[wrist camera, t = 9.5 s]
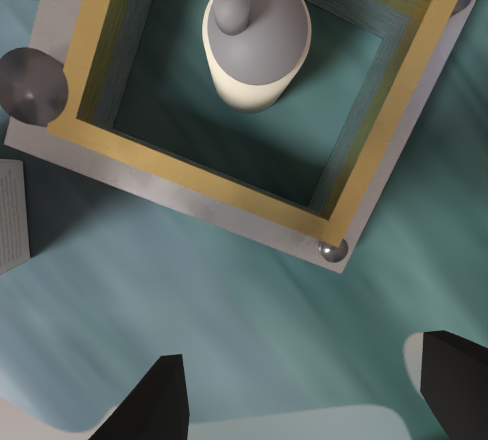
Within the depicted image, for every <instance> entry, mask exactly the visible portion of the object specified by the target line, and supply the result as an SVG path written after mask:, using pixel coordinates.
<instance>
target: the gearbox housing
mask: <svg viewBox="0 0 488 440" xmlns="http://www.w3.org/2000/svg"><path fill="white" fill-rule="evenodd" d="M152 1H153V0H40V3H39V7H38V11H37V15H36V19H35V23H34V27H33V31H32V34H31V38H30V42H29V46H28V48H27V47H24V48H17V49H14V50H11V51H9V52H8V53H6V54H5V55H4V56H3V57H2V58H1V59H0V104H1V106H2V107H3V109H4V110H5V111H6V112H7V113H8V114H9V115H10V116H11V118H10V122H9V126H8V130H7V134H6V137H5V141H4V144H5V145H7V146H10V147H13V148H15V149H18V150H20V151H23V152H26V153H28V154H31V155H33V156H36V157H39V158H41V159H44V160H46V161H49V162H52V163H54V164H57V165H59V166H62V167H65V168H67V169H70V170H72V171H75V172H78V173H80V174H83V175H85V176H88V177H91V178H93V179H96V180H98V181H101V182H104V183H106V184H109V185H111V186H114V187H117V188H119V189H122V190H124V191H127V192H130V193H132V194H135V195H137V196H140V197H143V198H145V199H148V200H150V201H153V202H156V203H158V204H161V205H163V206H166V207H169V208H171V209H174V210H176V211H179V212H182V213H184V214H187V215H189V216H192V217H195V218H197V219H200V220H202V221H205V222H208V223H210V224H213V225H215V226H218V227H221V228H223V229H226V230H228V231H231V232H234V233H236V234H239V235H241V236H244V237H247V238H249V239H252V240H254V241H257V242H260V243H262V244H265V245H267V246H270V247H273V248H275V249H278V250H280V251H283V252H286V253H288V254H291V255H293V256H296V257H299V258H301V259H304V260H306V261H309V262H312V263H314V264H317V265H319V266H322V267H325V268H327V269H330V270H332V271H335V272H338V273H340V274H342V272H343V270H344V268H345V266H346V264H347V262H348V260H349V257H350V255H351V253H352V251H353V249H354V247H355V245H356V243H357V241H358V239H359V237H360V235H361V233H362V231H363V229H364V227H365V225H366V223H367V221H368V219H369V217H370V215H371V213H372V211H373V209H374V207H375V205H376V203H377V201H378V199H379V197H380V195H381V192H382V190H383V188H384V186H385V184H386V182H387V180H388V178H389V176H390V174H391V172H392V170H393V168H394V166H395V164H396V162H397V160H398V158H399V156H400V154H401V152H402V150H403V148H404V146H405V144H406V142H407V140H408V138H409V136H410V134H411V132H412V130H413V127H414V125H415V123H416V121H417V119H418V117H419V115H420V113H421V111H422V109H423V107H424V105H425V103H426V101H427V99H428V97H429V95H430V93H431V91H432V89H433V87H434V85H435V83H436V81H437V79H438V77H439V75H440V73H441V71H442V69H443V67H444V65H445V62H446V60H447V58H448V56H449V54H450V52H451V50H452V48H453V46H454V44H455V42H456V40H457V38H458V36H459V34H460V32H461V30H462V28H463V26H464V24H465V22H466V20H467V18H468V16H469V14H470V12H471V10H472V8H473V6H474V4H475V2H476V0H306V1H308V2H310V3H312V4H314V5H316V6H318V7H320V8H322V9H324V10H326V11H328V12H330V13H332V14H334V15H337V16H339V17H341V18H343V19H345V20H347V21H349V22H351V23H353V24H355V25H357V26H359V27H361V28H363V29H365V30H367V31H369V32H371V33H373V34H375V35H377V36H379V37H381V38H383V41H382V43H381V45H380V47H379V50H378V52H377V54H376V56H375V59H374V61H373V63H372V65H371V67H370V70H369V72H368V74H367V76H366V79H365V81H364V83H363V85H362V87H361V90H360V92H359V94H358V96H357V98H356V101H355V103H354V105H353V107H352V110H351V112H350V114H349V116H348V118H347V121H346V123H345V125H344V127H343V130H342V132H341V134H340V136H339V138H338V141H337V143H336V145H335V147H334V150H333V152H332V154H331V156H330V158H329V161H328V163H327V165H326V167H325V169H324V172H323V174H322V176H321V178H320V181H319V183H318V185H317V187H316V189H315V192H314V194H313V196H312V198H311V201H310V203H309V205H308V207H305V206H303V205H300V204H298V203H295V202H293V201H290V200H288V199H285V198H283V197H280V196H278V195H276V194H273V193H271V192H268V191H266V190H263V189H261V188H258V187H256V186H253V185H251V184H249V183H246V182H244V181H241V180H239V179H236V178H234V177H231V176H229V175H227V174H224V173H222V172H219V171H217V170H214V169H212V168H209V167H207V166H204V165H202V164H200V163H197V162H195V161H192V160H190V159H187V158H185V157H182V156H180V155H177V154H175V153H173V152H170V151H168V150H165V149H163V148H160V147H158V146H155V145H153V144H150V143H148V142H146V141H143V140H141V139H138V138H136V137H133V136H131V135H128V134H126V133H123V132H121V131H119V130H116V129H114V128H113V125H114V122H115V119H116V115H117V112H118V109H119V106H120V103H121V99H122V96H123V93H124V90H125V87H126V84H127V80H128V77H129V74H130V71H131V68H132V64H133V61H134V58H135V55H136V52H137V49H138V45H139V42H140V39H141V36H142V33H143V29H144V26H145V23H146V20H147V17H148V14H149V10H150V7H151V4H152Z"/></svg>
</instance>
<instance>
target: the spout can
mask: <svg viewBox="0 0 488 440" xmlns="http://www.w3.org/2000/svg"><path fill="white" fill-rule="evenodd" d="M202 32H203V42H204V47H205V51H206V55H207V59H208V63H209V67H210V71H211V75H212V79H213V83H214V86H215V89H216V92H217V94H218V95H219V97H220V99H221V100H222V101H223V102H224V103H225V104H226V105H227V106H228V107H230V108H231V109H233V110H235V111H238V112H241V113H248V114H250V113H258V112H261V111H263V110H265V109H267V108H269V107H270V106H271V105H272V104H274V103H275V101H276V100H277V99H278V98H279V96H280V95H281V94H282V92H283V91H284V89H285V88H286V87H287V85H288V84H289V83H290V81H291V80H292V78H293V77H294V76H295V74H296V73H297V72H298V70H299V69H300V67H301V66H302V64H303V62H304V60H305V58H306V56H307V53H308V51H309V47H310V42H311V21H310V16H309V12H308V9H307V6H306V4H305V2H304V0H210V1H209V3H208V6H207V8H206V11H205V15H204V20H203V31H202Z"/></svg>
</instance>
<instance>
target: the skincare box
mask: <svg viewBox="0 0 488 440" xmlns="http://www.w3.org/2000/svg"><path fill="white" fill-rule="evenodd" d="M29 259H30V252H29V240H28V227H27V214H26V201H25V187H24V174H23V162H22V161H20V160H10V159H0V275H1V274H3V273H5V272H7V271H9V270H11V269H13V268H15V267H17V266H19V265H21V264H23V263H25V262H26V261H28V260H29Z"/></svg>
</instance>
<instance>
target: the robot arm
mask: <svg viewBox="0 0 488 440" xmlns="http://www.w3.org/2000/svg"><path fill="white" fill-rule="evenodd" d="M420 392H421V394H422V395H423V397H424V399H425V400H426V402H427V404H428V405H429V407H430V409H431V410H432V412H433V414H434V415H435V417H436V418H437V420H438V422H439V423H440V425H441V426H442V428H443V429H444V431H445V432H446V433H447V435H448V436H449V437H450V439H451V440H488V348H486V347H483V346H481V345H479V344H477V343H474V342H472V341H470V340H467V339H465V338H462V337H460V336H458V335H455V334H452V333H450V332H447V331H444V330H442V331H431V332H424V334H423V354H422V370H421V387H420ZM189 415H190V413H189V405H188V397H187V390H186V382H185V374H184V366H183V358H182V354H178V355H167V356H161V357H160V358H159V359H158V360H157V361H156V362H155V364H154V365H153V366H152V367H151V368H150V370H149V371H148V372H147V373H146V375H145V376H144V377H143V378H142V379H141V381H140V382H139V383H138V384H137V385H136V387H135V388H134V389H133V390H132V391H131V393H130V394H129V395H128V396H127V397H126V398H125V400H124V401H123V402H122V403H121V404H120V405H119V407H118V408H117V409H116V410H115V411H114V412H113V414H112V415H111V416H110V417H109V418H108V419H107V420H106V421H105V422H104V423H103V424H102V426H101V427H100V428H99V429H98V430H97V431H96V432H95V433H94V434H93V435H92V436H91V437H90V438H89V439H88V440H187V436H188V425H189Z"/></svg>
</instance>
